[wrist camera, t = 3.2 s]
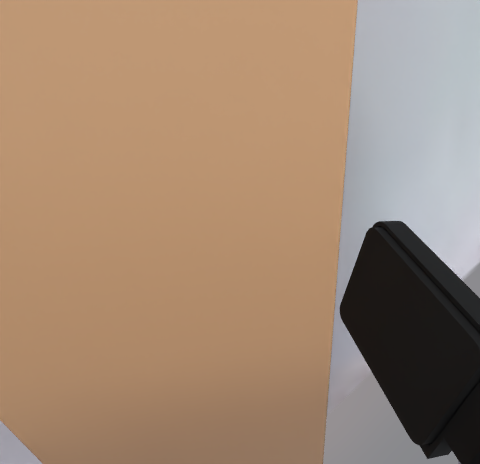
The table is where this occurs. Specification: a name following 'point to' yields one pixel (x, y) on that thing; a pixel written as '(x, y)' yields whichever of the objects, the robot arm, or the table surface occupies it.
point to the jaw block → (171, 226)
